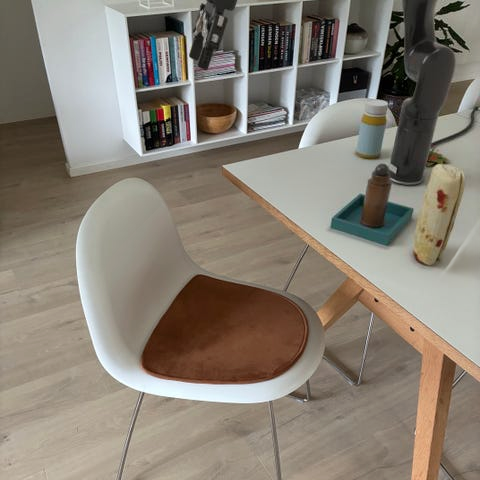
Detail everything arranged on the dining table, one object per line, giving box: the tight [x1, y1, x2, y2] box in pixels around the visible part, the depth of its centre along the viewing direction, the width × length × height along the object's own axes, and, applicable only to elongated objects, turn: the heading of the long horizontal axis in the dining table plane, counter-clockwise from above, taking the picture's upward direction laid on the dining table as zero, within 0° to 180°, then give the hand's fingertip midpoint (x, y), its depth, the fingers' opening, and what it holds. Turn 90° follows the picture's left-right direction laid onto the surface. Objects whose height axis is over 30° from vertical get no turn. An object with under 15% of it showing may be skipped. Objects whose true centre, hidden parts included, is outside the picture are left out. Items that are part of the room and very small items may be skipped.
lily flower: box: [426, 145, 452, 167], centre depth 152 cm, size 12×12×5 cm
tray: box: [330, 193, 415, 247], centre depth 121 cm, size 16×14×3 cm
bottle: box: [355, 98, 389, 160], centre depth 151 cm, size 7×7×15 cm
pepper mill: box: [360, 163, 393, 229], centre depth 117 cm, size 6×6×14 cm
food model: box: [412, 163, 466, 267], centre depth 104 cm, size 10×7×20 cm
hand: (197, 63), depth 110 cm, fingers open, 8 cm apart
